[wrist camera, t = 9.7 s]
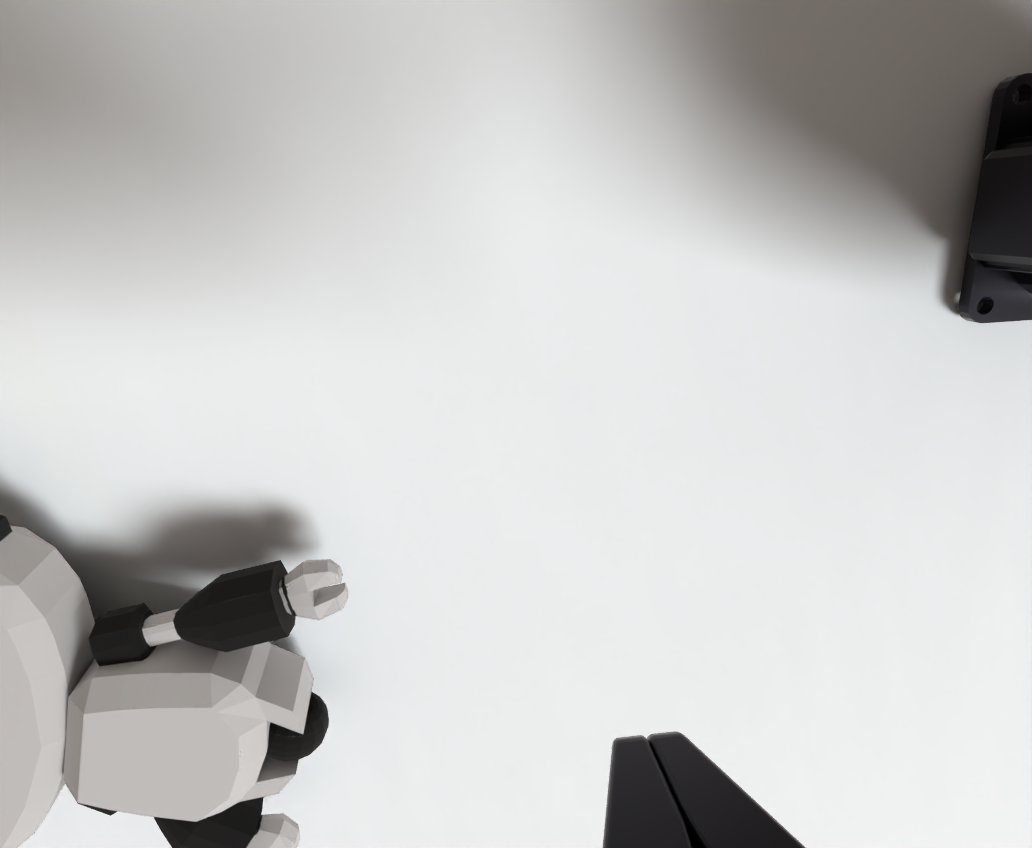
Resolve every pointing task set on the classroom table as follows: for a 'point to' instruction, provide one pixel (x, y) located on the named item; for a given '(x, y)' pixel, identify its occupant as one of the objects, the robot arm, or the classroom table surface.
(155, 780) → the robot toy
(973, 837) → the classroom table surface
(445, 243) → the classroom table surface
